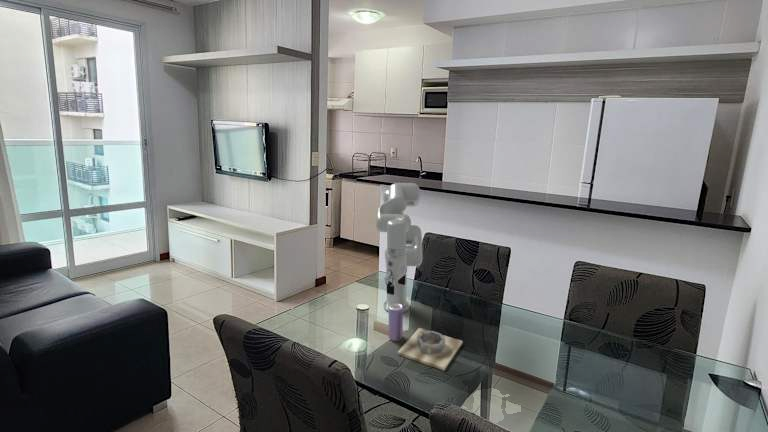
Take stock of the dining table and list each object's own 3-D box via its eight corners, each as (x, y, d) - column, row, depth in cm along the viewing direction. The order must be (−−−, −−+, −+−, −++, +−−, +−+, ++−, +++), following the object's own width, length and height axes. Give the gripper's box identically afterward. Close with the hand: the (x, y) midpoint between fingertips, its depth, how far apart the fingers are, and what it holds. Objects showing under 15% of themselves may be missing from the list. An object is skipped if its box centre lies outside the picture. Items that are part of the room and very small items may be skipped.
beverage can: (402, 341, 174) (403, 310, 170) (388, 341, 174) (388, 310, 170) (402, 333, 180) (402, 302, 175) (388, 333, 180) (388, 302, 176)
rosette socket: (397, 354, 166) (397, 343, 165) (419, 330, 183) (419, 320, 181) (444, 370, 156) (444, 359, 155) (462, 343, 173) (463, 333, 172)
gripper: (394, 259, 156) (394, 300, 161) (414, 244, 170) (413, 282, 176) (377, 256, 160) (377, 295, 165) (398, 241, 174) (397, 278, 179)
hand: (396, 288), depth 170 cm, fingers open, 9 cm apart
